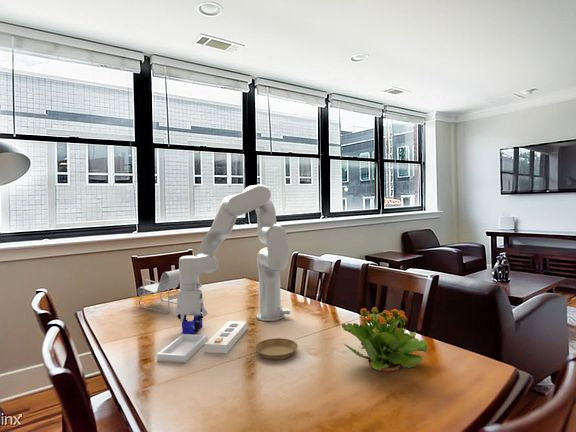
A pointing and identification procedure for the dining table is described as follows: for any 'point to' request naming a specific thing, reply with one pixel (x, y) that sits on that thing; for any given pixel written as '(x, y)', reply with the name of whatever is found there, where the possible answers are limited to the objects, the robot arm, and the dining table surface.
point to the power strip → (226, 337)
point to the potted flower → (386, 341)
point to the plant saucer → (276, 348)
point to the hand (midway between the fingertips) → (191, 330)
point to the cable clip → (190, 326)
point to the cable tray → (182, 348)
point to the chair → (161, 287)
